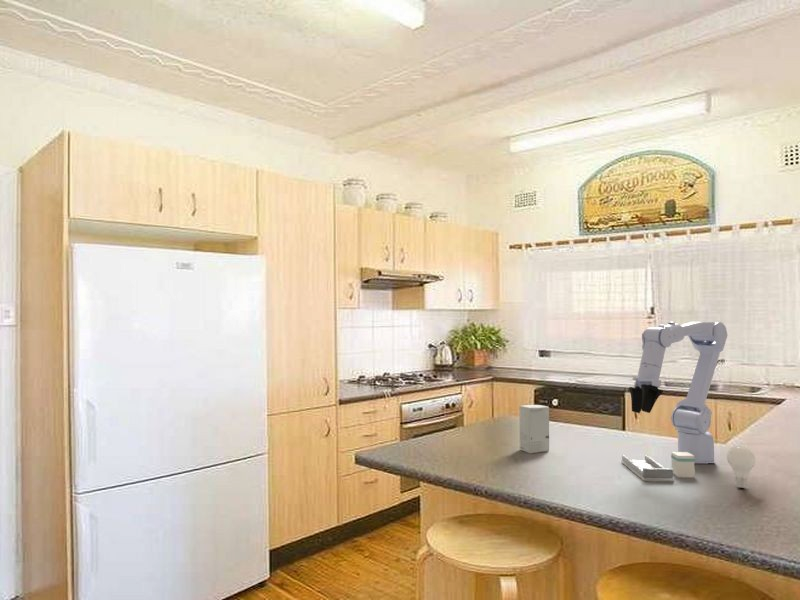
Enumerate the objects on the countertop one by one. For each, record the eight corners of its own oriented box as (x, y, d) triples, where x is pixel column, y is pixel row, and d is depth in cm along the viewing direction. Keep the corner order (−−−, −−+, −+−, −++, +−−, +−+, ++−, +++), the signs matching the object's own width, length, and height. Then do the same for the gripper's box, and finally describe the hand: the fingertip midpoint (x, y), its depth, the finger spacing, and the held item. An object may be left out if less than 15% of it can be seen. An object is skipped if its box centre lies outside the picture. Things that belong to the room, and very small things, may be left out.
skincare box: (529, 454, 177) (529, 408, 178) (518, 449, 183) (518, 405, 183) (550, 451, 181) (550, 406, 181) (539, 447, 186) (538, 403, 186)
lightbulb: (756, 494, 138) (755, 450, 139) (727, 489, 142) (726, 447, 142) (755, 487, 144) (755, 445, 144) (727, 483, 147) (726, 442, 147)
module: (688, 473, 156) (687, 452, 156) (694, 477, 152) (694, 455, 152) (671, 472, 157) (671, 451, 157) (677, 477, 153) (677, 455, 153)
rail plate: (648, 462, 167) (648, 452, 167) (674, 481, 149) (673, 469, 149) (621, 462, 167) (621, 451, 167) (643, 481, 149) (643, 469, 149)
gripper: (627, 365, 167) (618, 408, 164) (646, 360, 153) (636, 407, 150) (651, 371, 166) (641, 415, 164) (671, 367, 152) (661, 415, 150)
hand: (640, 412), depth 157 cm, fingers open, 7 cm apart
